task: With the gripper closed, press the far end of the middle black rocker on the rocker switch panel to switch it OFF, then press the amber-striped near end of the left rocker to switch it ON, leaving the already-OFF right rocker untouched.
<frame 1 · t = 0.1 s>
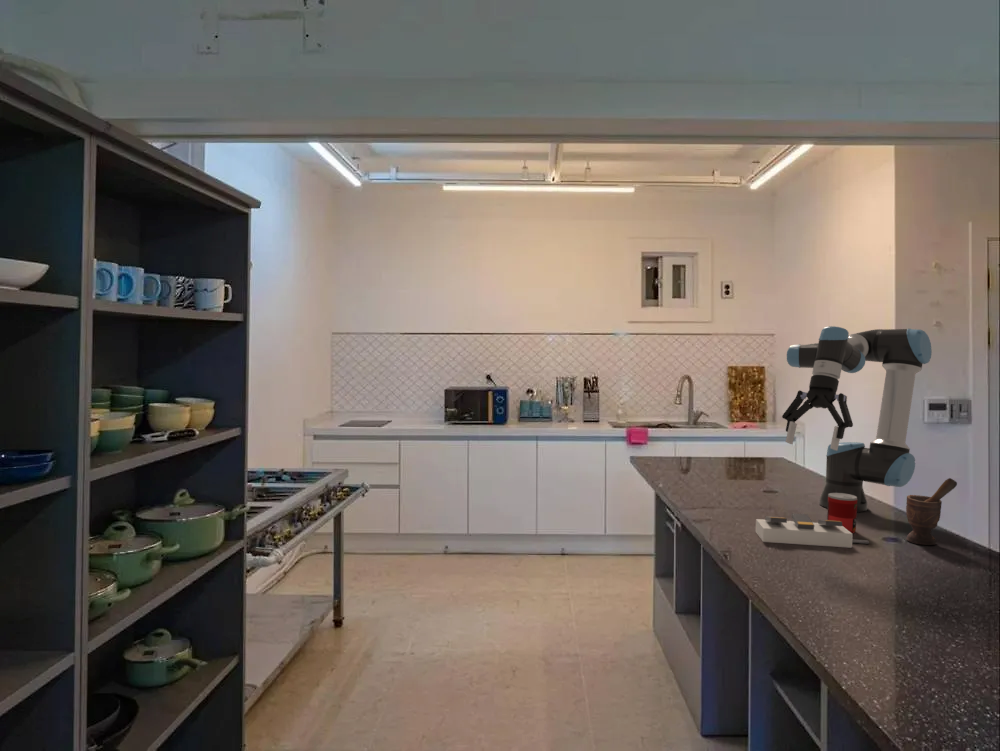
hand: (810, 446, 187), 28 cm above the countertop, tool tilted 20°, fingers open, 13 cm apart
rocker middle: (802, 520, 188), point 6 cm above the countertop, hinge at -12.0°
canned food: (841, 531, 198), on the countertop
rocker switch panel: (801, 539, 188), on the countertop
rocker 2: (829, 522, 186), point 6 cm above the countertop, hinge at 12.0°
mortar and pestle: (927, 543, 187), on the countertop
rocker 1: (775, 519, 189), point 6 cm above the countertop, hinge at 12.0°
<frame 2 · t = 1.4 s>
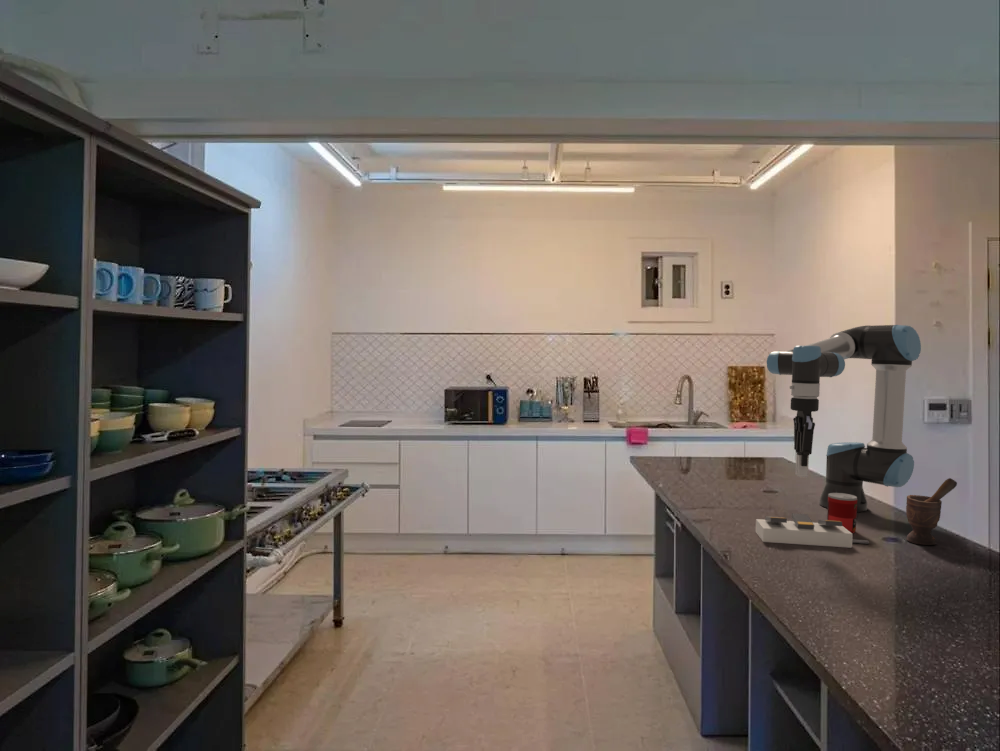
hand: (801, 475, 190), 18 cm above the countertop, tool pointing down, fingers closed
nothing on the countertop moved.
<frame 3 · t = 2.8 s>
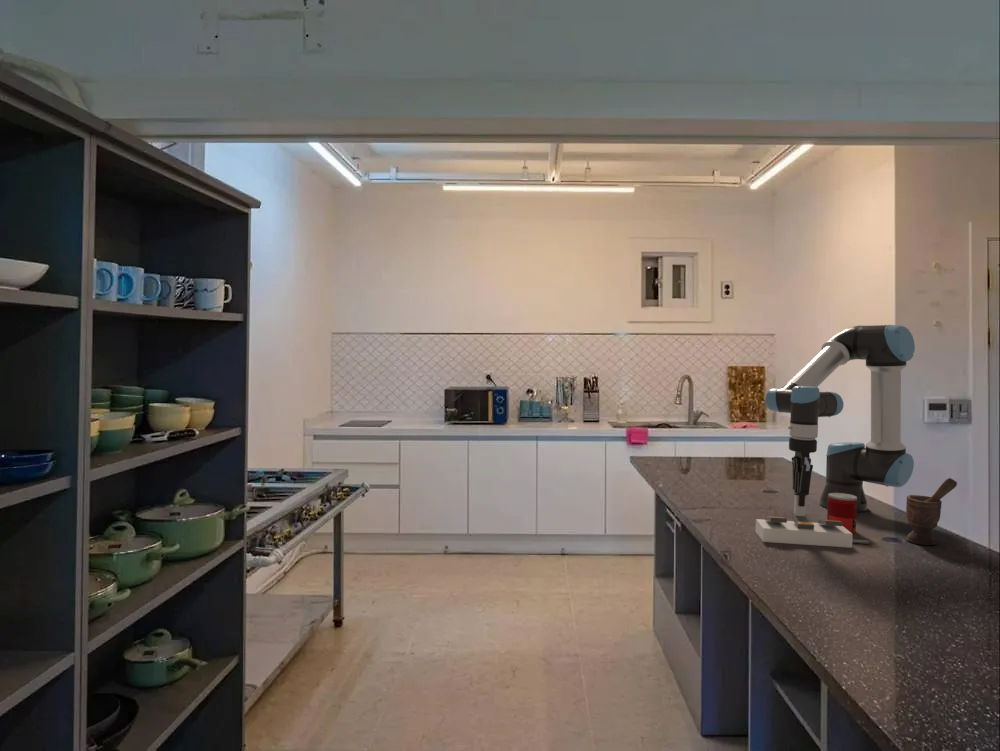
hand: (799, 515, 190), 6 cm above the countertop, tool pointing down, fingers closed
rocker middle: (802, 520, 188), point 6 cm above the countertop, hinge at -11.9°, touching gripper
everything else where it was.
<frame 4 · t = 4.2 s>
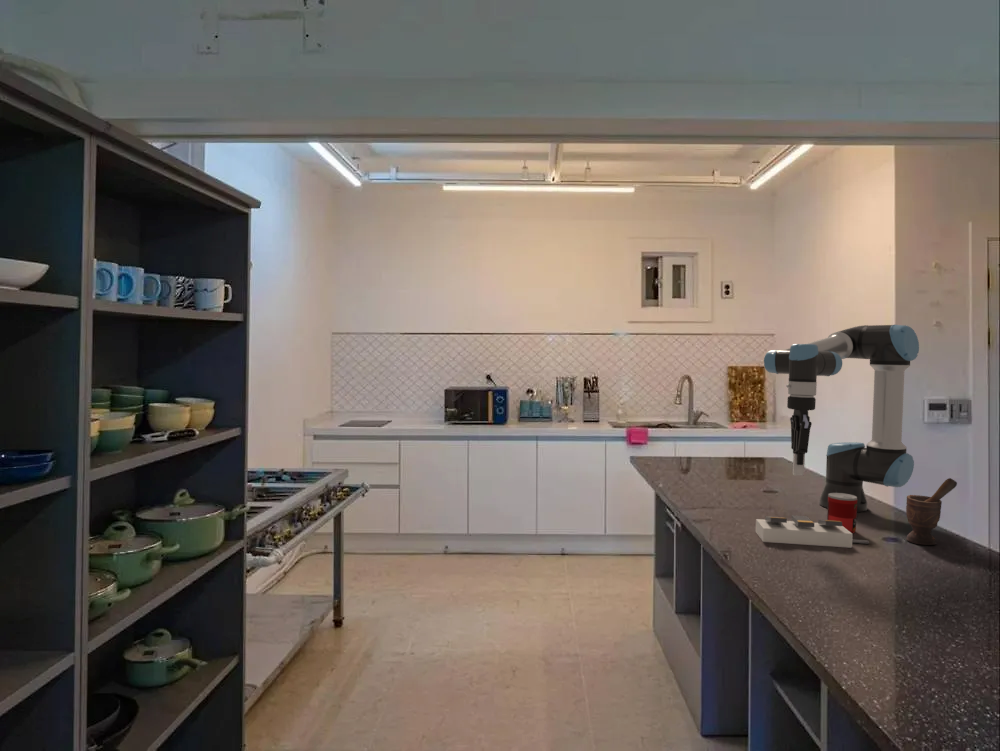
hand: (798, 475, 189), 19 cm above the countertop, tool pointing down, fingers closed
rocker middle: (802, 520, 188), point 6 cm above the countertop, hinge at -1.1°
everything else where it was.
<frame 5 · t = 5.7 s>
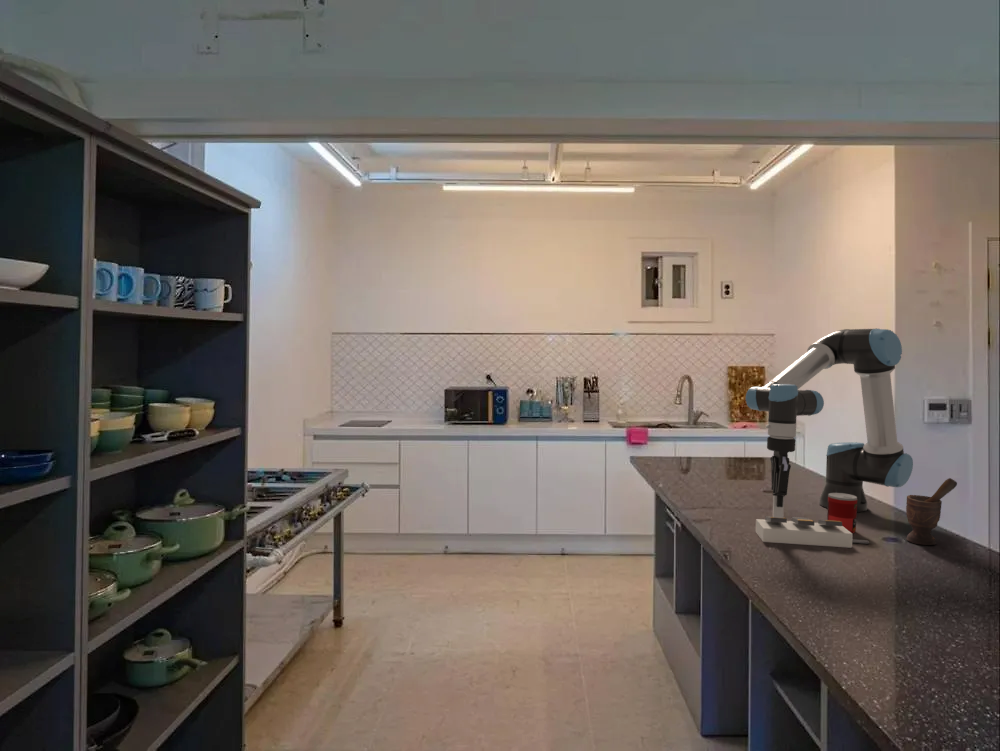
hand: (777, 517, 186), 7 cm above the countertop, tool pointing down, fingers closed
rocker middle: (802, 520, 188), point 6 cm above the countertop, hinge at 6.4°
rocker 1: (775, 519, 189), point 6 cm above the countertop, hinge at 12.0°, touching gripper
everything else where it was.
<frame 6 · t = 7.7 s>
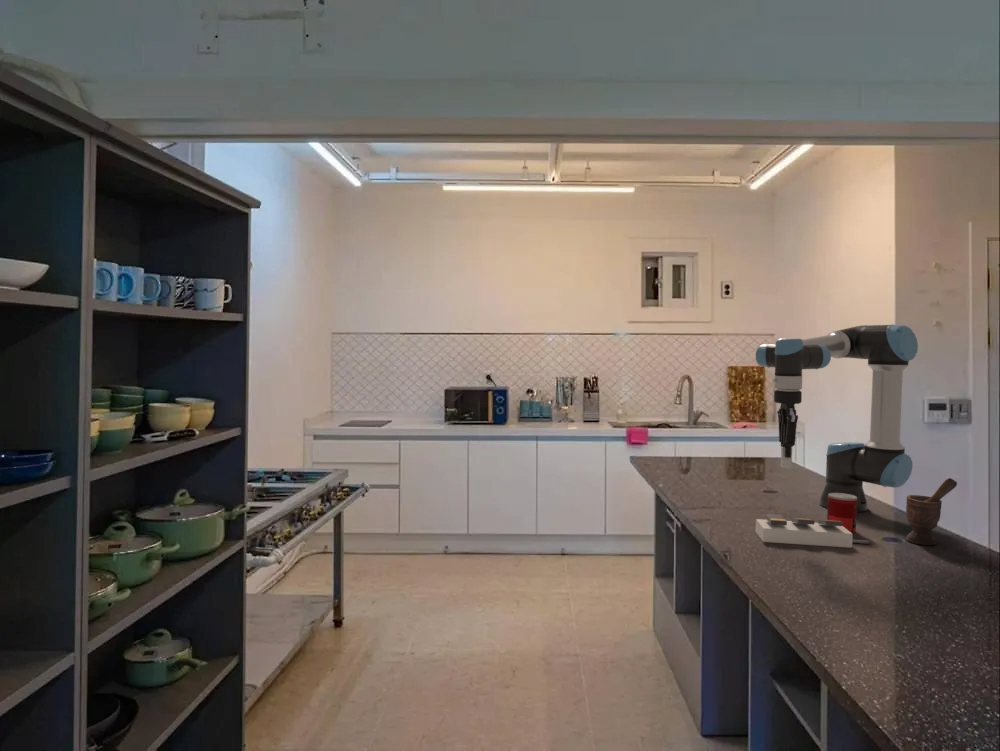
hand: (786, 467, 192), 20 cm above the countertop, tool pointing down, fingers closed
rocker middle: (802, 520, 188), point 6 cm above the countertop, hinge at 11.7°
rocker 1: (775, 519, 189), point 6 cm above the countertop, hinge at -1.0°
everything else where it was.
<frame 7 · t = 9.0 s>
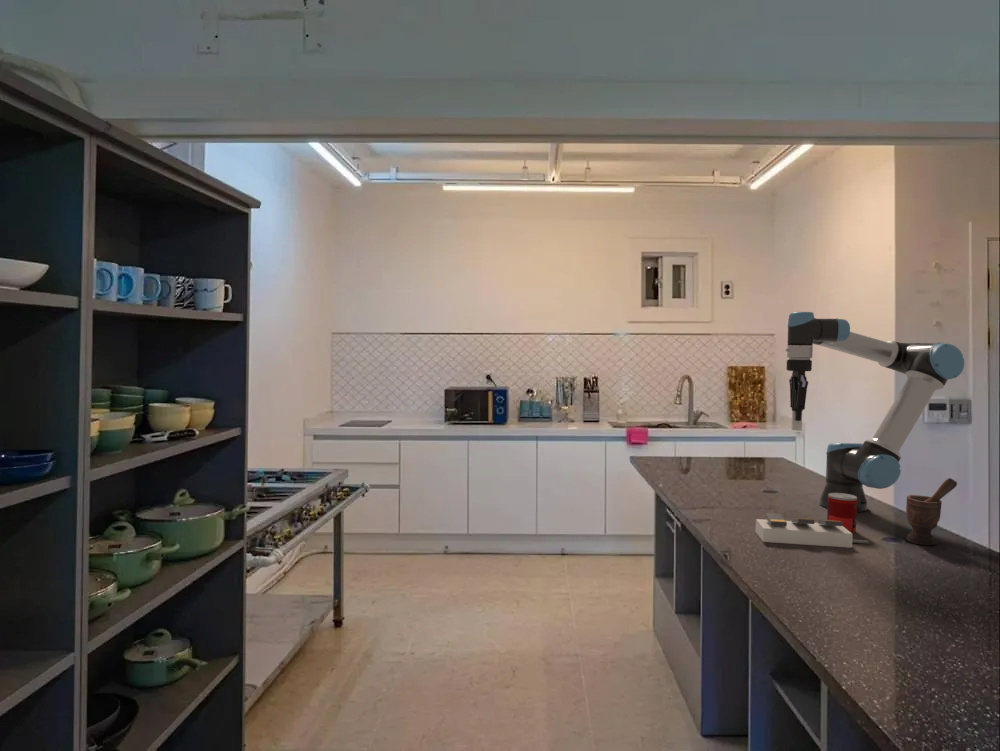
hand: (796, 430, 210), 29 cm above the countertop, tool pointing down, fingers closed
rocker middle: (802, 520, 188), point 6 cm above the countertop, hinge at 13.6°
rocker 1: (775, 519, 189), point 6 cm above the countertop, hinge at -6.4°
everything else where it was.
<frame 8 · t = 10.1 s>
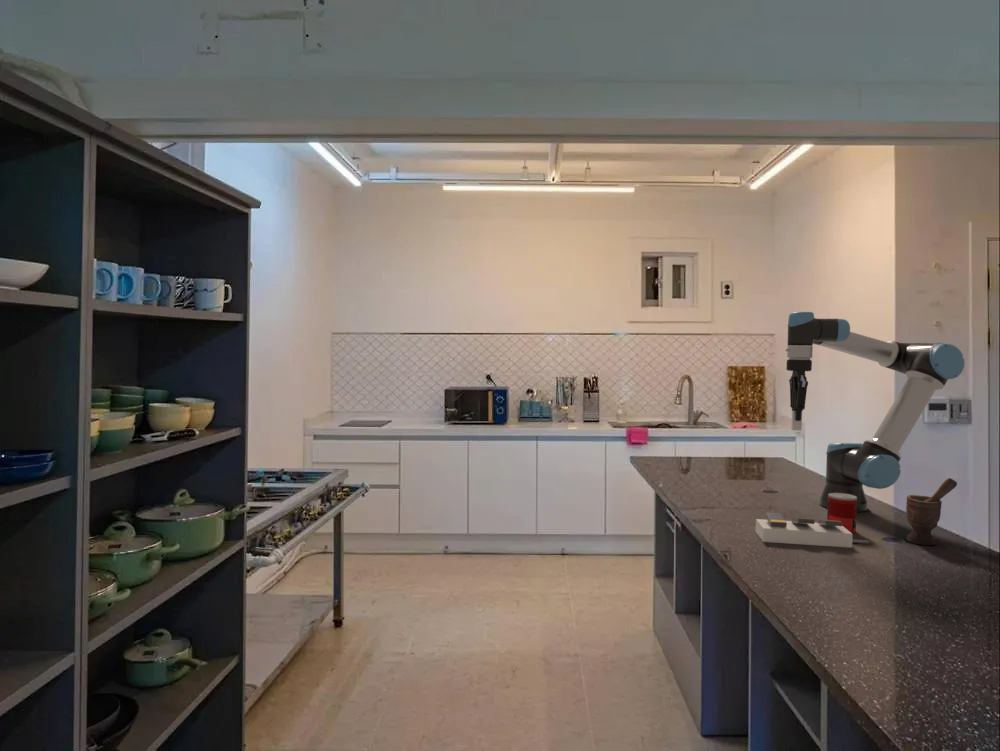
hand: (796, 430, 210), 29 cm above the countertop, tool pointing down, fingers closed
rocker middle: (802, 520, 188), point 6 cm above the countertop, hinge at 14.5°
rocker 1: (775, 519, 189), point 6 cm above the countertop, hinge at -9.3°
everything else where it was.
at the end: rocker middle at +14° (first picture: -12°); rocker 1 at -9° (first picture: +12°); rocker 2 at +12° (first picture: +12°) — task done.
